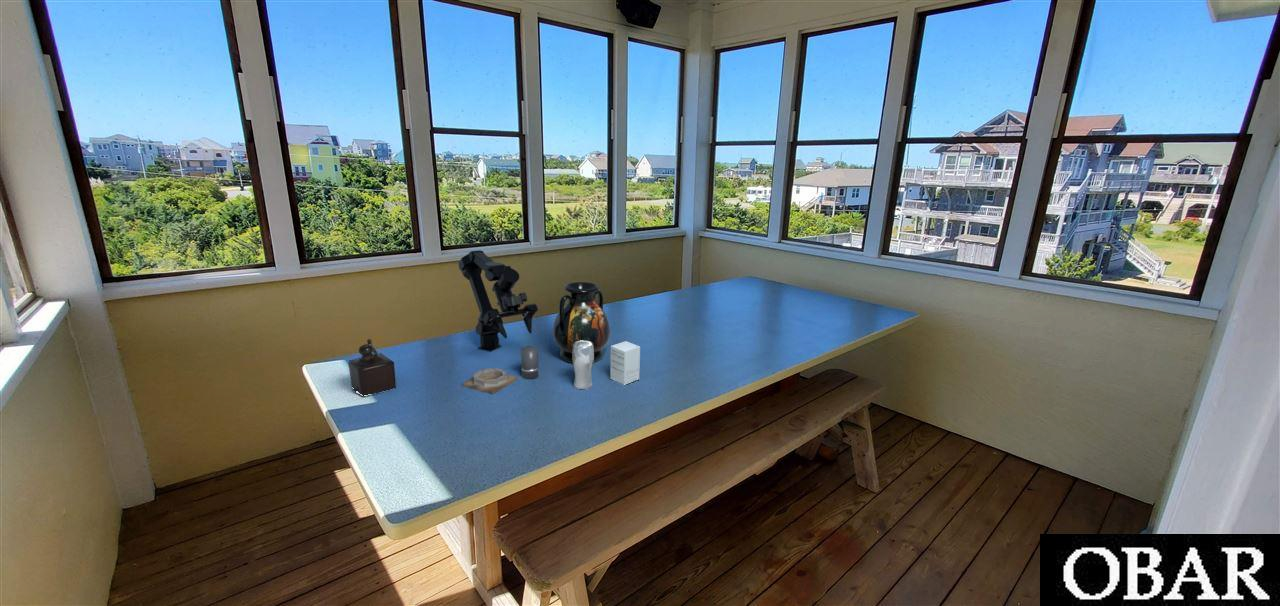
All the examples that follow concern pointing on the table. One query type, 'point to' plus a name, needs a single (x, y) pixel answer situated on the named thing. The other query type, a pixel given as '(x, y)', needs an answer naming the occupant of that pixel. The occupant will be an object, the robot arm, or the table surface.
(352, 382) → the brown coffee grinder
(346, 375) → the table surface
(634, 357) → the supplement box
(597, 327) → the amphora vase
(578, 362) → the beer glass
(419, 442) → the table surface
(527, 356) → the grey dome-topped cylinder
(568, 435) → the table surface
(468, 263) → the robot arm
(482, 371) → the walnut mount board
